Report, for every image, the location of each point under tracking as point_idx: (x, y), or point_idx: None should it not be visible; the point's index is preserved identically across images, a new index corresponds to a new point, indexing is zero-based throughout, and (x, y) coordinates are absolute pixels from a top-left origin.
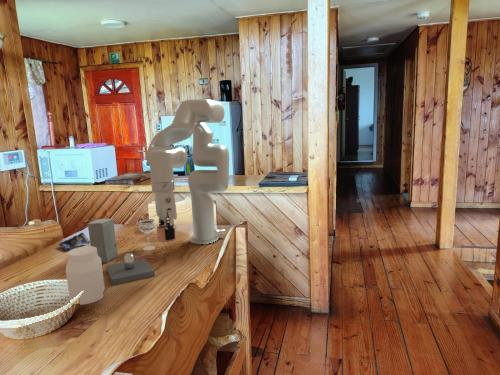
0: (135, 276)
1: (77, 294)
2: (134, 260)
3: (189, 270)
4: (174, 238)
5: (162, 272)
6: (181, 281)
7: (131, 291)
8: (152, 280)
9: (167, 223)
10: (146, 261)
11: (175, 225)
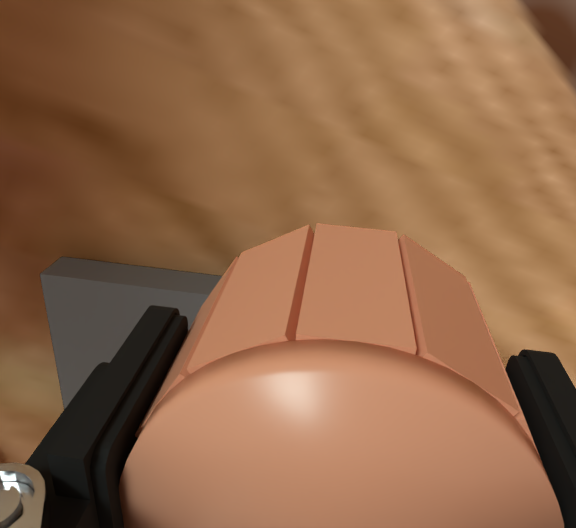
0: None
1: None
2: (59, 343)
3: (402, 20)
4: (552, 359)
5: (298, 224)
6: (561, 174)
7: None
8: None
9: (108, 463)
10: (115, 289)
11: (377, 382)
